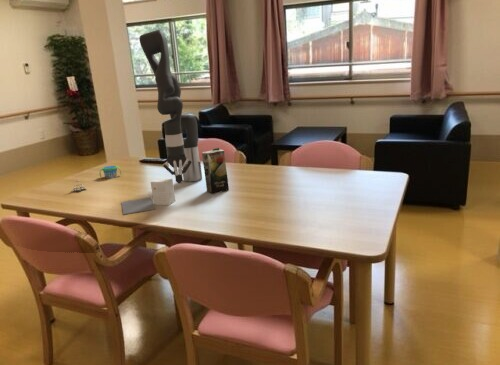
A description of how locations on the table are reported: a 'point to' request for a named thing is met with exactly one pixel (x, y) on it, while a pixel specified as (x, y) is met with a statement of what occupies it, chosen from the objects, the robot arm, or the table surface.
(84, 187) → the house of cards
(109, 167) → the snack cup
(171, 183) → the small box
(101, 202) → the table surface
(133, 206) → the mat
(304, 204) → the table surface
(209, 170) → the juice carton
